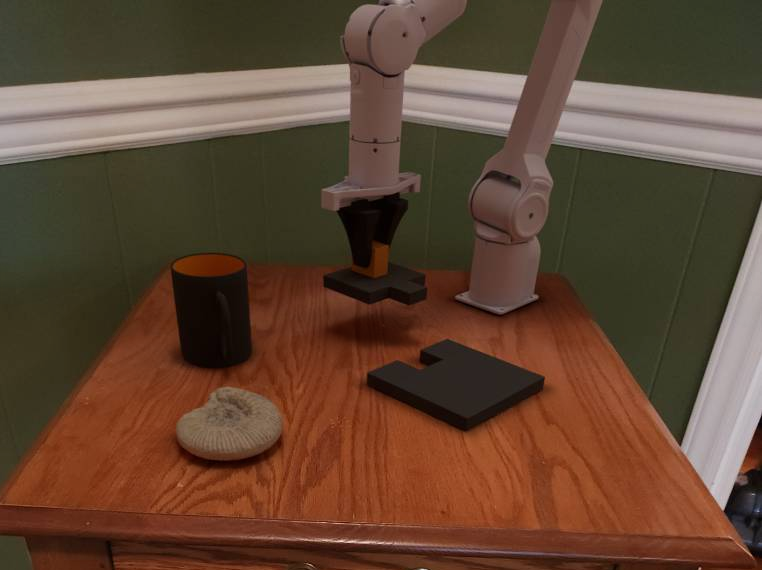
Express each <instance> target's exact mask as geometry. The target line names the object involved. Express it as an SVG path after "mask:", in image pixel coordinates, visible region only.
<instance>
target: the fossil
mask: <svg viewBox="0 0 762 570" xmlns="http://www.w3.org/2000/svg"><path fill="white" fill-rule="evenodd" d="M207 400H208V401H207V402H206V403H205V404H203V406H201V407H197V408H195V409H192V410H191V411H190V412H187V413H186V412H185V413H184V414H183V415H182V416H181V418H180V419H179V420H177V422H176V425H175V432H176V438H177V441H178V443H179V445H180V447H182V448H183V449H184V450H185V451H187V452H188V453H190V454H191V455H194V456H195V457H198V458H203V459H205V460H211V461H220V462H222V461H224V462H227V461H240V460H245V459H248V458H252V457H255V456H257V455H261V454H262V453H264V452H265V451H267V450H269V449H271V447H272V446H274V444H276V443H277V441H278V440H279V439H280V436H281V435H282V431H283V418H282V415H281V414H282V413H281V412H280V410H279V408H278V407H277V406H276V405H275V403H274V402H272V401H271V400H269V398H268V397H265V396H264V395H261V394H259V393H255V392H254V391H253V392H251V391H250V390H246V389H242V388H238V387H232V386H223V387H220V386H219V387H218V388H216V389H215V390H214V391H212V392H211V393H210V394H209V395H208V396H207Z"/></svg>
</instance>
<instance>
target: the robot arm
mask: <svg viewBox="0 0 762 570" xmlns="http://www.w3.org/2000/svg"><path fill="white" fill-rule="evenodd" d="M603 1H604V0H551V2H550V3H551V4H550V7H549V10H548V13H547V16H546V19H545V22H544V25H543V28H542V31H541V34H540V37H539V40H538V43H537V46H536V48H535V52H534V55H533V59H532V61H531V64H530V67H529V70H528V73H527V76H526V78H525V82H524V85H523V88H522V91H521V94H520V97H519V100H518V102H517V106H516V108H515V109H516V110H515V111H514V114H513V118H512V120H511V124H510V127H509V130H508V133H507V137H506V139H505V142H504V145H503V147H502V149H501V150H499V152H497V153H496V154H494V155H492V157H490V158H489V159H488V160H486V161H485V164H484V167H483V169H482V173H481V174H480V177H479V178H478V179H477V180H476V181H475V183H474V185H473V186H472V188H471V190H470V192H469V196H468V200H467V209H468V213H469V216H470V218H471V219H472V220H473V221H474V226H473V231H476V232H475V240H474V248H473V256H472V263H471V271H470V280H469V286H468V287H469V288H468V290H467V291H464V292H462V293H460V294H457V295H455V297H454V299H455V300H456V301H459V302H460V303H465V304H466V305H469V306H473V307H476V308H479V309H481V310H485V311H487V312H490V313H491V314H496V315H498V316H501V315H505V314H506V313H509V312H511V311H514V310H516V309H518V308H521V307H523V306H525V305H527V304H530V303H532V302H536V301H537V300H539V295H538V294H535V287H536V281H537V277H538V272H539V271H538V270H539V265H540V260H541V252H542V249H541V245H540V241H539V238H538V237H537V235H538V233H540V231H541V230H542V228H544V226H545V223H546V221H547V219H548V214H549V206H550V198H551V197H550V196H551V192H552V191H553V187H554V179H553V177H552V176H551V173H550V171H549V169H548V166H547V164H546V159H547V156H548V154H549V151H550V148H551V145H552V143H553V140H554V137H555V135H556V131H557V129H558V126H559V123H560V120H561V117H562V116H563V115H562V114H563V112H564V109H565V107H566V105H567V101H568V99H569V96H570V92H571V89H572V87H573V84H574V82H575V79H576V76H577V73H578V70H579V68H580V64H581V62H582V59H583V56H584V54H585V51H586V48H587V45H588V42H589V39H590V37H591V34H592V31H593V29H594V26H595V23H596V21H597V18H598V15H599V12H600V9H601V6H602V3H603ZM467 3H468V0H379V1H378V4H369V3H368V4H363V5H360V6H359V7H357V8H356V9H355V10H353V12H352V13H351V15H350V17H349V18H348V22H347V23H346V25H345V28H344V34H343V35H341V36H340V37H339V38H340V39H339V41H340V48H341V51H342V54H343V57H344V59H345V60H346V62H347V64H348V68H349V81H350V97H349V99H350V100H349V134H348V135H349V141H348V142H349V143H348V144H349V145H348V146H349V148H348V175H345V176H344V177H343V179H344V180H343V181H341V182H339V183H337V184H334V185H332V186H329V187H327V188H322V189H321V192H320V193H321V195H320V196H321V197H320V200H321V203H320V204H321V208H322V209H325V210H328V211H331V212H336V214H337V215H338V218H339V220H340V221H341V223H342V226H343V227H344V231H345V233H346V236H347V240H348V243H349V247H350V253H351V258H352V257H353V262H354V265H357V266H359V267H362V268H368V267H369V265H370V261H371V254H372V243H373V240H374V241H377V242H380V243H383V244H386V245H389V251H388V254H389V253H390V249H391V246H392V242H393V239H394V237H395V234H396V231H397V229H398V226H399V225H400V222H401V221H402V219H403V217H404V215H405V214H406V212H407V211H408V209H409V200H408V199H405V198H402V197H401V195H403V194H407V193H412V194H418V193H420V191H421V179H422V175H421V174H419V173H415V172H411V171H406V172H400V159H401V158H400V157H401V140H402V124H403V123H402V121H403V107H404V92H405V91H404V90H405V75H406V73H405V72H406V71H408V70H410V68H411V67H412V65H413V64H414V63H415V60H416V57H417V56H418V51H419V49H420V48H421V47H422V46H423V45H424V44H426V43H427V42H428V41H430V40H431V39H432V38H433V37H435V36H436V35H438V34H439V33H440V32H441V31H442V30H444V29H445V28H446V27H448V26H449V25H450V24H451V23H453V22H455V20H457V19H458V18H459V17H460V16H462V15H463V14H464V12H465V10H466V7H467ZM514 179H517V180H518V181H519V182H516V181H515V180H514ZM513 180H514V181H513Z"/></svg>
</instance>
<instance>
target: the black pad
mask: <svg viewBox="0 0 762 570" xmlns="http://www.w3.org/2000/svg"><path fill="white" fill-rule="evenodd" d="M388 251H389V252H390V249H389V245H386V244H383V243H380V242H377V241H374V240H373V243H372V254H371V261H370V265H369V267H368V268H362V267H359V266H357V265H354V262H353V257H352V256H351V260H350V261H351V266H350V267H346V268H343V269H339V270H336V271H333V272H329V273H326V274H323V277H322V281H323V282H322V285H323V288H325V289H327V290H331V291H333V292H336V293H338V294H339V295H340V294H341V295H343V296H346V297H348V298H351V299H353V300H356V301H358V302H361V303H364V304H366V305H369V306H370V305H373V304H376V303H379V302H382V301H385V300H388V299H390V300H392V301H395V302H398V303H400V304H403V305H406V306H408V307H410V306H413V305H415V304H418V303H421V302H423V301H426V300H427V298H428V287H427V286H426V276H427V275H426V273H423V272H419V271H416V270H414V269H411V268H408V267H406V266H402V265H400V264H397V263H394V262H390V261H389V253H388Z"/></svg>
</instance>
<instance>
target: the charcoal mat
mask: <svg viewBox="0 0 762 570" xmlns="http://www.w3.org/2000/svg"><path fill="white" fill-rule="evenodd" d="M419 363H421V364H424V365H426V367H423V368H421V369H420V368H417V367H415V366H412V365H411V364H408V363H406V362H403V361H401V360H399V359H396V360H393V361H390V362H389V363H386V364H383V365H382V366H379V367H376V368H375V369H373V370H370V371H368V372H367V373H366V386H368V387H370V388H372V389H375V390H377V391H379V392H380V393H383V394H385V395H388V396H390V397H392V398H394V399H396V400H398V401H401V402H402V403H404V404H406V405H409V406H411V407H413V408H414V409H417V410H419V411H422V412H424V413H426V414H428V415H431V416H432V417H434V418H436V419H439V420H440V421H443V422H445V423H447V424H449V425H451V426H453V427H455V428H458V429H459V430H462V431H464V432H468V431H469V430H471V429H473V428H475V427H476V426H478V425H481V424H482V423H484V422H486V421H487V420H489V419H491V418H493V417H495V416H496V415H499V414H500V413H502V412H503V411H505V410H508V409H510V408H511V407H513V406H515V405H517V404H518V403H520V402H522V401H524V400H526V399H527V398H529V397H532V396H533V395H534V394H536V393H538V392H540V391H542V390H543V389H544V385H545V381H546V376H544V375H542V374H539V373H536V372H534V371H532V370H529V369H527V368H524V367H521V366H518V365H516V364H513V363H511V362H508V361H505V360H503V359H500V358H498V357H495V356H492V355H490V354H488V353H486V352H483V351H480V350H477V349H474V348H472V347H469V346H467V345H464V344H462V343H460V342H456V341H454V340H452V339H449V338H445V339H443V340H440V341H438V342H436V343H433V344H431V345H428V346H426V347H424V348H421V349H420V352H419Z"/></svg>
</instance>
